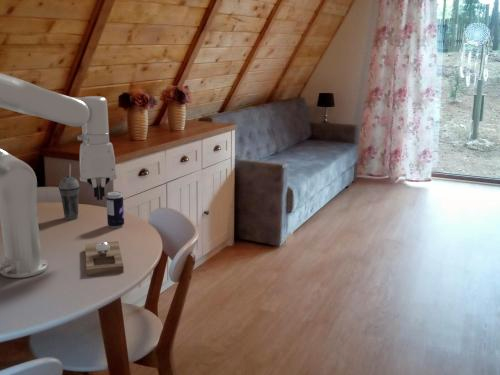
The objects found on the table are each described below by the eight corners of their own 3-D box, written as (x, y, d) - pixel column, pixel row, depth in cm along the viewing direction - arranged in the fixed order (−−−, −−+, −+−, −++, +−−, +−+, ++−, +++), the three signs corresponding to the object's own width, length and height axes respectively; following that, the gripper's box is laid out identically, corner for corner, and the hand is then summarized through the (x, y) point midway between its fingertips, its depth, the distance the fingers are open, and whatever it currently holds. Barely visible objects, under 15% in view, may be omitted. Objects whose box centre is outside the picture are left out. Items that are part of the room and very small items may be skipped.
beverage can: (122, 228, 191) (120, 195, 188) (105, 228, 192) (104, 195, 188) (126, 223, 197) (124, 191, 194) (110, 223, 197) (108, 190, 194)
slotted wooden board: (123, 272, 156) (123, 265, 156) (86, 276, 154) (86, 269, 153) (118, 247, 175) (118, 241, 174) (85, 250, 172) (85, 244, 171)
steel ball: (104, 257, 161) (103, 245, 160) (93, 255, 163) (92, 242, 162) (113, 253, 165) (112, 240, 164) (102, 251, 166) (101, 238, 165)
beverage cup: (56, 219, 201) (52, 165, 195) (71, 213, 207) (67, 161, 202) (71, 222, 197) (67, 167, 192) (86, 216, 204) (82, 163, 198)
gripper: (69, 142, 156) (73, 204, 161) (123, 140, 161) (125, 200, 165) (69, 137, 163) (73, 197, 168) (121, 135, 167) (123, 194, 172)
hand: (99, 198), depth 167 cm, fingers closed
